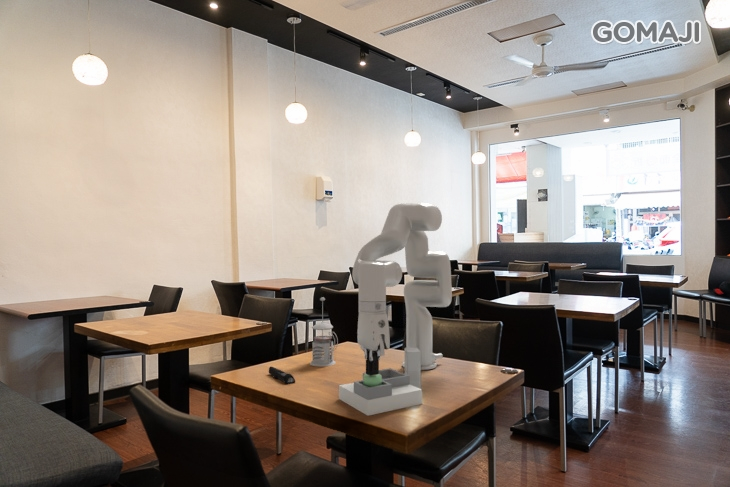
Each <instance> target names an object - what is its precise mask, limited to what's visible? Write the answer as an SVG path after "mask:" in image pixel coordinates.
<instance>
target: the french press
mask: <svg viewBox="0 0 730 487" xmlns="http://www.w3.org/2000/svg"><path fill="white" fill-rule="evenodd" d="M325 300H326V298H325V297H324V296H323V297H322V296H321V297H320V298H319V301H321V302H322V303H321V304H322V305H321V306H322V308H321V310H322V315H321V317H322V320H321V321H322V322H319V323H318V322H317V323H315V325H313V326H312V327H311V329H312V330H314V331H315V330H317V331H322V334H321V335H317V336H313V341H312V342H311V344H312V354H311V355H312V356H311V357H312V358H311V359H312V360H311V361H310V363H309V365H310V366H314V367H331V366H334V365H336V362H337V361H335V360H334V351H335V350H336V349H338V344H339V339H338V336H337V334H336V333H335V331H331V332H330V331H329V332H328V335H324V331H328V330H332V329H333V328H334V326H333V325H332V324H331V323H328V322H324V301H325ZM333 334H334V335H335V336H334V335H333ZM332 339H333V340H334V341H333V340H332ZM336 342H337V343H336ZM335 346H336V347H335Z"/></svg>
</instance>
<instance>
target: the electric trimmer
mask: <svg viewBox="0 0 730 487" xmlns="http://www.w3.org/2000/svg"><path fill="white" fill-rule="evenodd" d="M268 374H269V375H270V376H272V377H273V379H276V380H277V379H278V380H280V381H282V382H284V385H293V384H296V378H295V377H294V376H293V375H292V374H291V373H288V372H285V371H283V370H281V369H278V368H276V367H274V366H270V367H269V368H268Z"/></svg>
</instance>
